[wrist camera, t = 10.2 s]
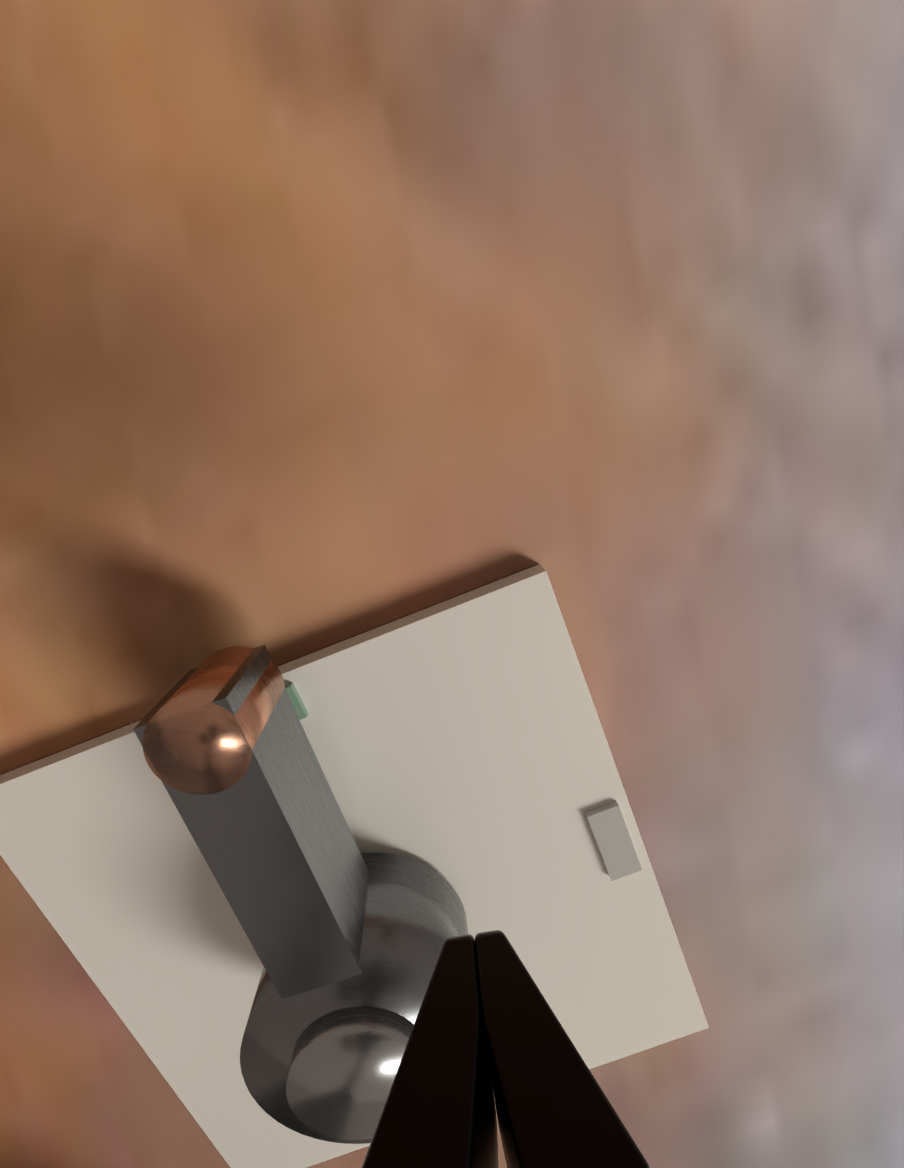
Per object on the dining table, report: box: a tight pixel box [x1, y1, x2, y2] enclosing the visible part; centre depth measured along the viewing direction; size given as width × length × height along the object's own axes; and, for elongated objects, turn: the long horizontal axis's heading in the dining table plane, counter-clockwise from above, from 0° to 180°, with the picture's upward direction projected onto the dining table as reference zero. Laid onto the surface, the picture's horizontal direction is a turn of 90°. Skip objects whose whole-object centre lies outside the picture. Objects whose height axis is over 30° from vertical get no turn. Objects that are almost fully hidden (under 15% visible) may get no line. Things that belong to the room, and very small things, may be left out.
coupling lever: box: [133, 645, 468, 1144], centre depth 17 cm, size 16×7×5 cm, turn 19°
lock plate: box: [0, 564, 709, 1168], centre depth 22 cm, size 21×21×1 cm
